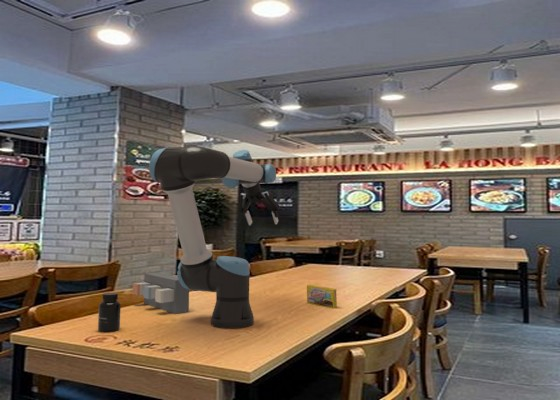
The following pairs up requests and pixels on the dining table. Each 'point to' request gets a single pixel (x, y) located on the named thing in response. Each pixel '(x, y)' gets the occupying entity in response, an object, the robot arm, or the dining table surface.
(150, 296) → the slate button
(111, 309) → the supplement bottle
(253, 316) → the robot arm
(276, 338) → the dining table surface
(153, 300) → the console
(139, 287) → the terracotta button
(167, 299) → the cream button
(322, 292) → the candy box
